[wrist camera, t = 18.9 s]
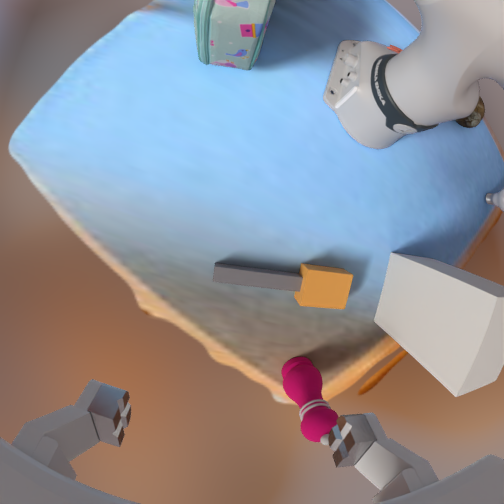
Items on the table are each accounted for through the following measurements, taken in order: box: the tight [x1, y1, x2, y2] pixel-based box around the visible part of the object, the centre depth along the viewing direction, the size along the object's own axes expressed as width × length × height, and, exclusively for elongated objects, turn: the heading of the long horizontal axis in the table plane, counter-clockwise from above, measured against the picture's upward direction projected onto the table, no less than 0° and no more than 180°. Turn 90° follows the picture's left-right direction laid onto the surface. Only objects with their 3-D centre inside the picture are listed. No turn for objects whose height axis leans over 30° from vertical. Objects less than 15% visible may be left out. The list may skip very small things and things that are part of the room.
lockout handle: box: [213, 263, 353, 309], centre depth 44 cm, size 6×22×4 cm, turn 81°
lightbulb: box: [486, 188, 504, 212], centre depth 42 cm, size 6×6×11 cm
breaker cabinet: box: [374, 252, 504, 397], centre depth 36 cm, size 14×13×26 cm
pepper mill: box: [282, 357, 338, 445], centre depth 40 cm, size 7×7×20 cm
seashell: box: [456, 96, 485, 128], centre depth 38 cm, size 11×9×8 cm
